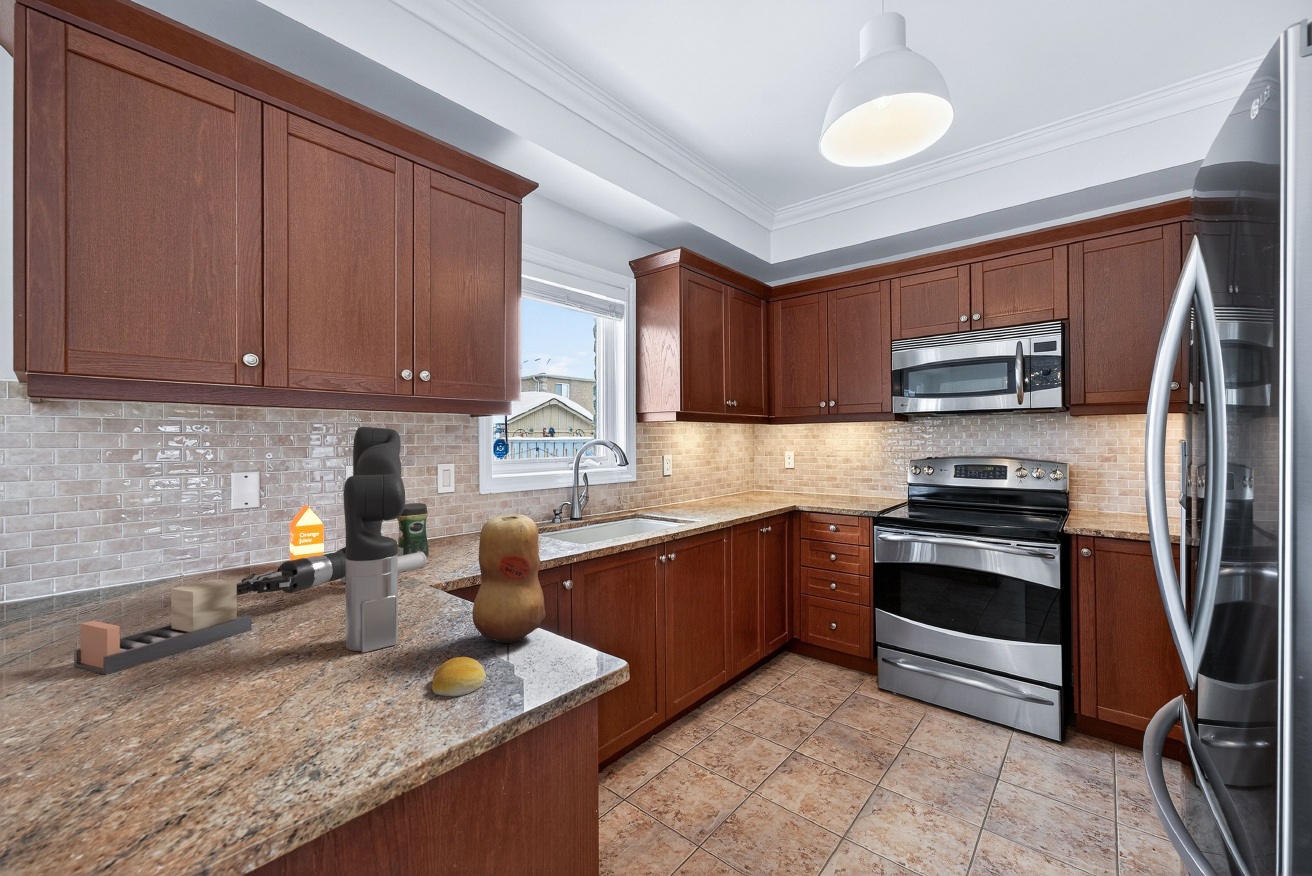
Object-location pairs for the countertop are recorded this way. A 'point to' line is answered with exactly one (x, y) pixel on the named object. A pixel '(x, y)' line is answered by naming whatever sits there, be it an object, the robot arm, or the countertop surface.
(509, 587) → the butternut squash
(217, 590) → the tan wooden block
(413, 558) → the tube
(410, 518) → the coffee jar
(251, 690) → the countertop surface
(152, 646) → the roller bed
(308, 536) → the orange juice
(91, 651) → the end stop
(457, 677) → the bread roll
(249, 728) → the countertop surface
